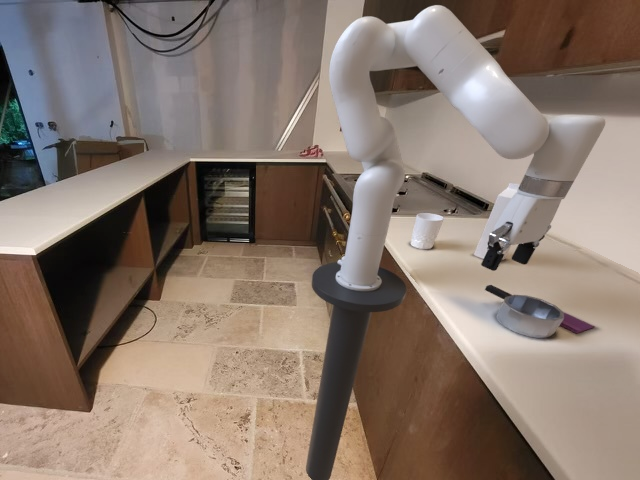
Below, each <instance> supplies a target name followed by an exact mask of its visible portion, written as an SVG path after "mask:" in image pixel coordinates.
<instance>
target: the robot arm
mask: <svg viewBox="0 0 640 480" xmlns="http://www.w3.org/2000/svg"><path fill="white" fill-rule="evenodd" d="M413 67H417V68H418V69H419V70H420V71H421V72H422V73H423V74H424V75H425V76H426V78H428V80H429V81H430V82H431V83H432V85H434V86H435V88H437V90H438V91H439V93H441V94H442V96H444V98H445V99H446V100H447V101H448V102H449V103H450V105H451V106H452V107H453V108H454V109H456V111H458V112H460V114H461V115H462V116H463V117H464V118H465V119H466V120H467V121H468V122H469V124H470V125H472V127H473V128H474V129H475V130H476V131H477V132H478V134H479V135H480V136H481V137H482V138H483V139H484V140H485V141H486V143H488V145H489V146H490V147H491V148H492V149H493V150H494V152H495V153H496V154H498V155H499V156H500V157H501V158H503V159H506V160H521V159H524V158H527V157H529V156H531V155H533V156H532V159H531V161H530V163H529V165H528V167H527V169H526V171H525V173H524V175H523V177H522V180H521V182H520V183H519V184H520V186H519V188H518V190H517V193H515V195H514V196H513V197H512V199H511V200H510V202H509V203H508V205H507V206H506V208H505V210H504V211H503V213H502V215H501V217H500V218H499V220H498V222H497V224H496V226H495V228H494V230H493V232H492V233H490V235H489V242H488V247H487V249H488V251H487V253H486V255H485V257H484V259H482V261H481V263H480V265H481V266H482V267H483V268H485V269H487V270H490V271H492V272H495V271H497V270H498V268H499V266H500V264H501V262H502V261H503V260H502V258H503V256H504V254H502V253H503V252H504V251H505V250H506V249H507V248H508V247H509V246H510V245H511V246H516V245H517V247H516V248H515V251H514V252H513V254H512V256H511V260H512V261H514V262H517V263H519V264H521V265H528V263H529V261H530V259H531V258H532V256H533V254H534V252H535V250H536V249H537V248H538V247H539V246H540V242H541V241H542V240H543V239H544V238H545V237H546V234H547V233H548V232H549V231H550V230H551V229H552V224H551V223H552V222H553V220H554V218H555V216H556V214H557V212H558V209H559V207H560V205H561V202H562V200H565V198H566V197H567V195H568V193H569V191H570V190H571V188H572V186H573V185H574V183H575V180H576V178H577V177H578V175H579V173H580V172H581V170H582V168H583V167H584V164H585V163H586V161H587V160H588V157H589V156H590V155H591V152H592V150H593V149H594V146H595V145H596V143H597V142H598V139H599V138H600V136H601V134H602V132H603V130H604V128H605V126H606V119H605V118H604V117H603V116H599V115H592V114H569V113H568V114H561V115H555V114H545V113H542V112H541V111H540V110H539V109H538V108H537V107H536V106H535V105H534V104H533V103H532V102H531V100H529V98H528V97H527V96H526V95H525V94H524V93H523V92H522V91H521V90H520V89H519V87H518V86H517V85H516V84H515V83H514V81H512V80H511V79H510V77H509V76H508V75H507V74H506V72H505V71H504V70H503V69H502V67H501V64H500V63H498V62H497V60H496V59H495V58H494V57H493V56H492V55H491V53H490V52H489V51H488V50H487V49H486V48H485V47H484V46H483V45H482V44H481V43H480V41H478V40H477V38H476V37H475V36H474V35H473V34H472V33H471V32H470V30H469V29H467V27H466V26H465V25H464V24H463V23H462V22H461V20H459V19H458V17H457V16H456V15H455V14H454V13H453V12H452V11H451V10H450V9H449V8H447V7H446V6H444V5H440V4H434V5H430V6H428V7H426V8H424V9H422V10H421V11H420V12H419V13H418V14H417V15H416V16H415V17H414V18H413V19H410V20H405V21H398V22H391V23H386V22H384V21H383V20H382V19H380V18H378V17H375V16H370V15H369V16H368V15H367V16H362V17H359V18H357V19H355V20H354V21H352V22H351V23H350V25H348V26H347V27H346V28H345V30H344V31H343V32H342V34H341V35H340V37H339V38H338V40H337V42H336V44H335V46H334V47H333V51H332V53H331V57H330V62H329V68H328V79H329V87H330V91H331V94H332V95H331V96H332V99H333V103H334V107H335V110H336V113H337V118H338V122H339V125H340V129H341V132H342V136H343V140H344V143H345V144H344V145H345V148H346V151H347V153H348V155H349V157H350V158H351V159H352V160H353V161H355V162H357V163H361V166H362V169H363V171H362V173H361V174H360V175H359V177H358V178H357V180H356V182H355V185H354V187H353V194H352V195H353V196H352V210H351V217H350V223H349V230H348V235H347V239H346V246H345V253H344V256H342V257H341V259H338V260H337V261H336V262H337V263H338V264H339V265H341V270H340V271H338V272H337V273H336V281H337V282H338V283H339V284H340V285H341V286H343V287H345V288H347V289H351V290H355V291H373V290H376V289H378V288H379V287H380V286H381V282H382V280H381V278H380V277H379V276H378V275H377V273H378V269H379V267H380V265H381V261H382V256H383V252H384V248H385V245H386V241H387V235H388V233H389V232H388V231H389V228H390V224H391V218H392V214H393V213H392V212H393V208H394V203H395V200H396V195H397V194H398V192H400V190H401V188H402V187H403V185H404V183H405V178H406V174H405V167H404V162H403V157H402V154H401V150H400V146H399V142H398V137H397V134H396V130H395V128H394V126H393V124H392V123H391V121H390V120H389V119H388V118H386V117H384V116H381V113H380V110H379V106H378V103H377V102H378V101H377V97H376V92H375V90H374V87H373V84H372V81H371V75H370V72H379V71H385V70H387V71H388V70H394V69H395V70H396V69H406V68H413ZM503 237H505V238H507V239H505V238H503ZM508 239H510V240H508ZM499 242H502V243H504V245H503V246H502V247H501V246H500V243H499Z"/></svg>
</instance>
